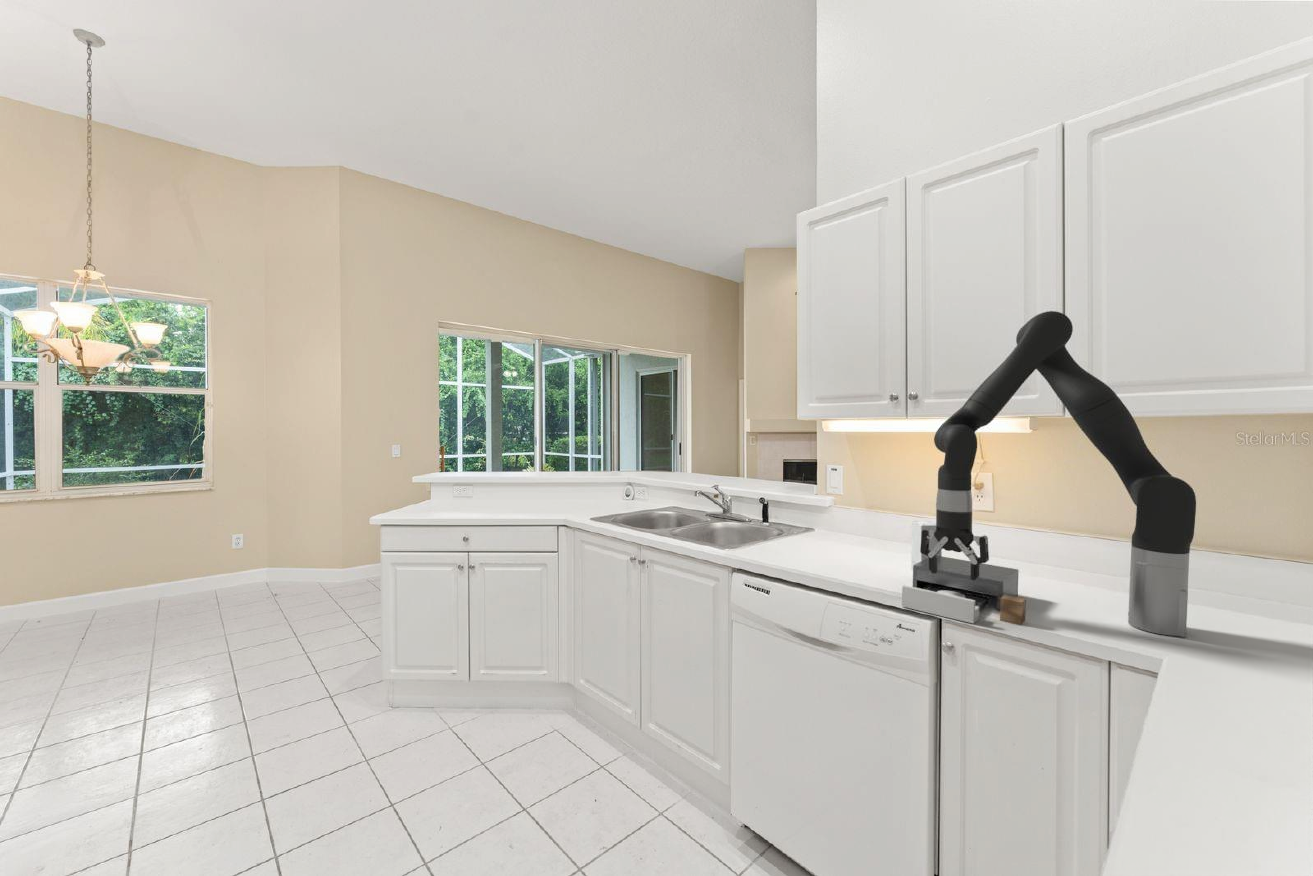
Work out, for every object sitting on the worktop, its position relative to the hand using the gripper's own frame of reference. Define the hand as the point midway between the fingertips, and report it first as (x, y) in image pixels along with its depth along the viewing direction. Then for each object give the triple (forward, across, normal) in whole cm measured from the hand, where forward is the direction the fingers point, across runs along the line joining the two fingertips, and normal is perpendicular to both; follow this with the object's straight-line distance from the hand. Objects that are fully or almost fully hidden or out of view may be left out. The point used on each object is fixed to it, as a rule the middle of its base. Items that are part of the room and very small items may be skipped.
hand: (953, 576), depth 130 cm
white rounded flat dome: (+6, 0, 0) cm, 6 cm away
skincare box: (+7, +14, -26) cm, 31 cm away
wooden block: (+7, -12, +1) cm, 14 cm away
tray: (+7, +1, +1) cm, 7 cm away
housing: (+7, 0, -12) cm, 14 cm away
